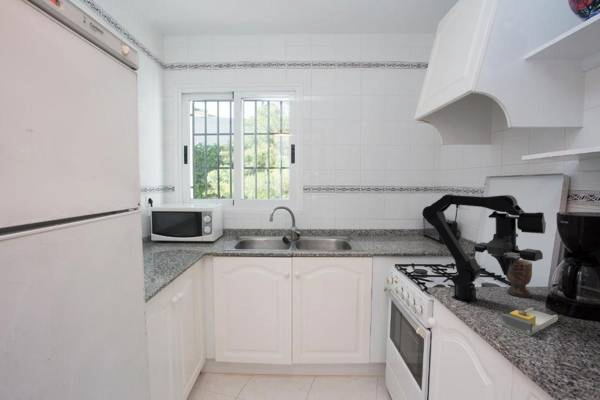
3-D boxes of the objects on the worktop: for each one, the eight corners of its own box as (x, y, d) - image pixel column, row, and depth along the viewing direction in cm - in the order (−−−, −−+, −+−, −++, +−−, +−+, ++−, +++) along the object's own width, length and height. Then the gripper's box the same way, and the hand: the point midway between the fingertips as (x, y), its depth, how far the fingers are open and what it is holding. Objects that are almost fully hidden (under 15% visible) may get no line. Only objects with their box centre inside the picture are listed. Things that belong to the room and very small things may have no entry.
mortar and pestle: (538, 302, 101) (537, 248, 100) (509, 299, 105) (508, 247, 104) (528, 292, 111) (528, 242, 110) (502, 289, 115) (502, 241, 114)
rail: (502, 325, 85) (502, 314, 85) (530, 312, 94) (530, 302, 94) (529, 336, 79) (529, 324, 79) (557, 320, 88) (557, 309, 88)
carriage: (509, 322, 85) (509, 310, 85) (516, 319, 87) (516, 307, 87) (529, 329, 81) (529, 316, 81) (535, 325, 83) (535, 313, 83)
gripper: (465, 230, 100) (465, 272, 101) (526, 237, 84) (526, 287, 84) (482, 227, 106) (483, 267, 106) (543, 233, 89) (543, 280, 90)
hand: (506, 275), depth 96 cm, fingers closed
